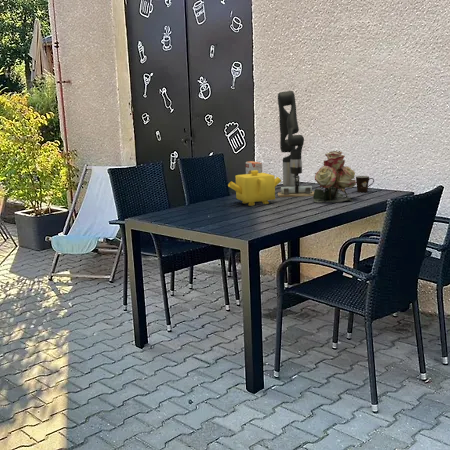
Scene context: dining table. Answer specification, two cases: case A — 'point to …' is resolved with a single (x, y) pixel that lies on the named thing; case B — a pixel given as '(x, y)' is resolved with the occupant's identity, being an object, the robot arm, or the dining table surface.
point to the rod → (292, 189)
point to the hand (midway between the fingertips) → (296, 192)
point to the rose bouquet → (333, 179)
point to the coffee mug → (363, 183)
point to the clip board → (287, 194)
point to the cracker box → (253, 167)
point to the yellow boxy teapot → (255, 187)
